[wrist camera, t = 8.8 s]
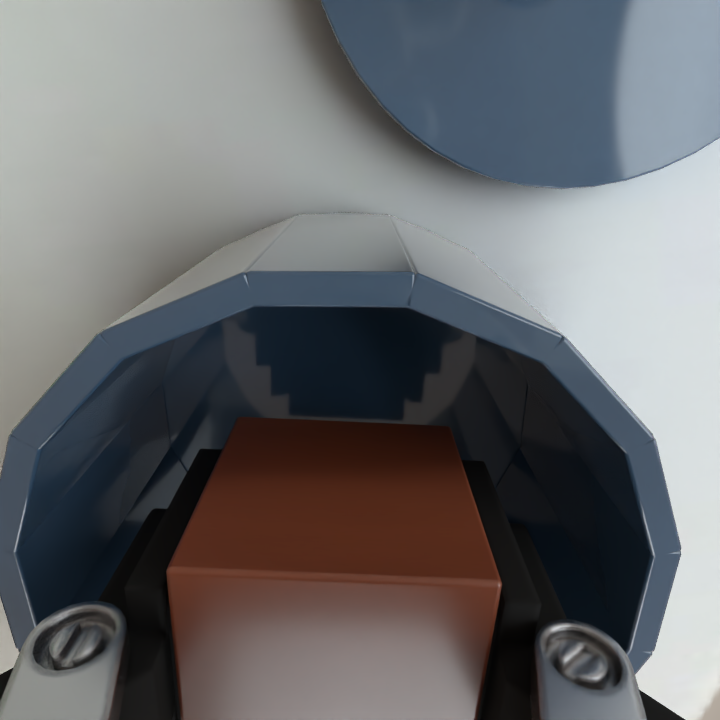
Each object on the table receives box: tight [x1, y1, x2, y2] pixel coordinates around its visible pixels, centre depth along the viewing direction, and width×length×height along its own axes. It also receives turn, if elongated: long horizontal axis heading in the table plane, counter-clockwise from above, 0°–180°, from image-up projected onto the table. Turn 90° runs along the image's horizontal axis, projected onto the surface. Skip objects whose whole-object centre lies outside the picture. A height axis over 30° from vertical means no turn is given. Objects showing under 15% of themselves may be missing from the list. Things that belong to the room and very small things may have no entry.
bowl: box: [0, 212, 681, 674], centre depth 13 cm, size 11×11×8 cm
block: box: [166, 417, 502, 720], centre depth 10 cm, size 4×4×4 cm
